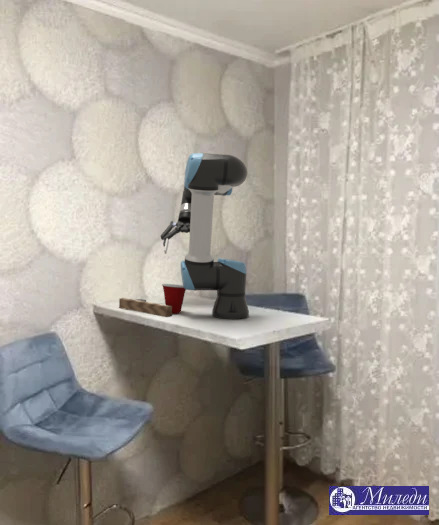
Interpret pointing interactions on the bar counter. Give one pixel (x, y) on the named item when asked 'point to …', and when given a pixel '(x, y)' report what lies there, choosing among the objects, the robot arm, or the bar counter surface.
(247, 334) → the bar counter surface
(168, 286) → the plastic cup
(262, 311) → the bar counter surface
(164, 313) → the rail
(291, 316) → the bar counter surface
